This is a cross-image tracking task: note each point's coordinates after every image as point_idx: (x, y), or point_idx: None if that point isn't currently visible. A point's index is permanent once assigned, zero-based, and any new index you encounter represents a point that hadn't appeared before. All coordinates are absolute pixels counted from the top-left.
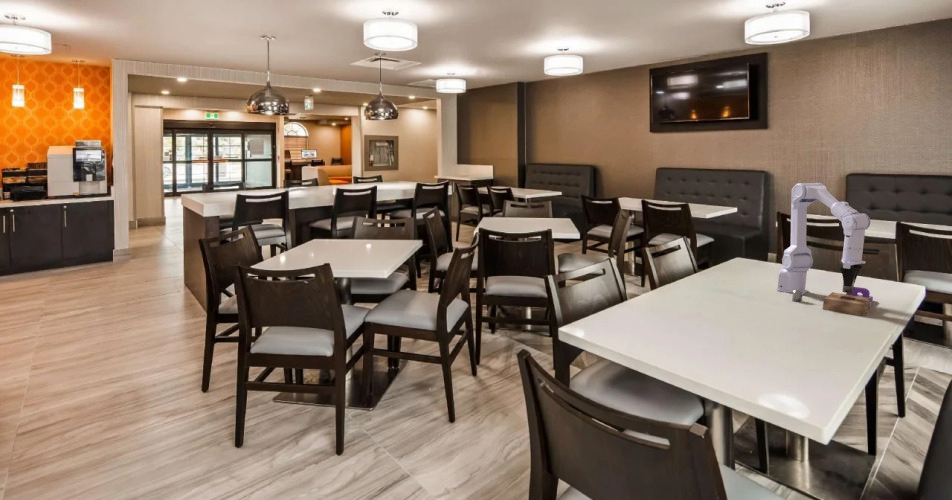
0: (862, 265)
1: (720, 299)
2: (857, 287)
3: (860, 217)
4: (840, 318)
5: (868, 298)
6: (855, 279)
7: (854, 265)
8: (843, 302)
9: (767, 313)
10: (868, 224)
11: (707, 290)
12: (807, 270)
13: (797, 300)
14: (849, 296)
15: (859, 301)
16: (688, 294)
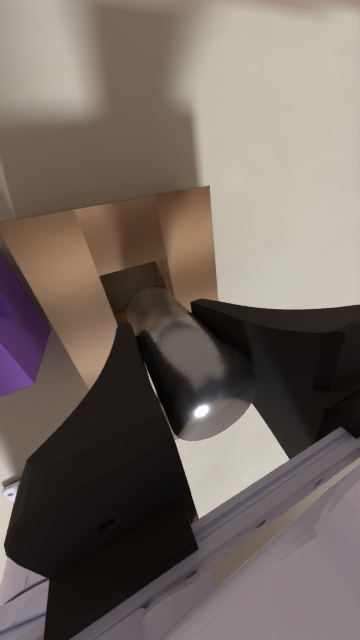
0: (46, 501)
1: (268, 434)
2: None
3: None
4: (265, 231)
5: (32, 229)
6: (133, 336)
7: (182, 500)
8: (213, 273)
9: None
10: None
11: (226, 483)
12: (7, 604)
13: None
14: (97, 313)
15: (162, 230)
16: (269, 462)
